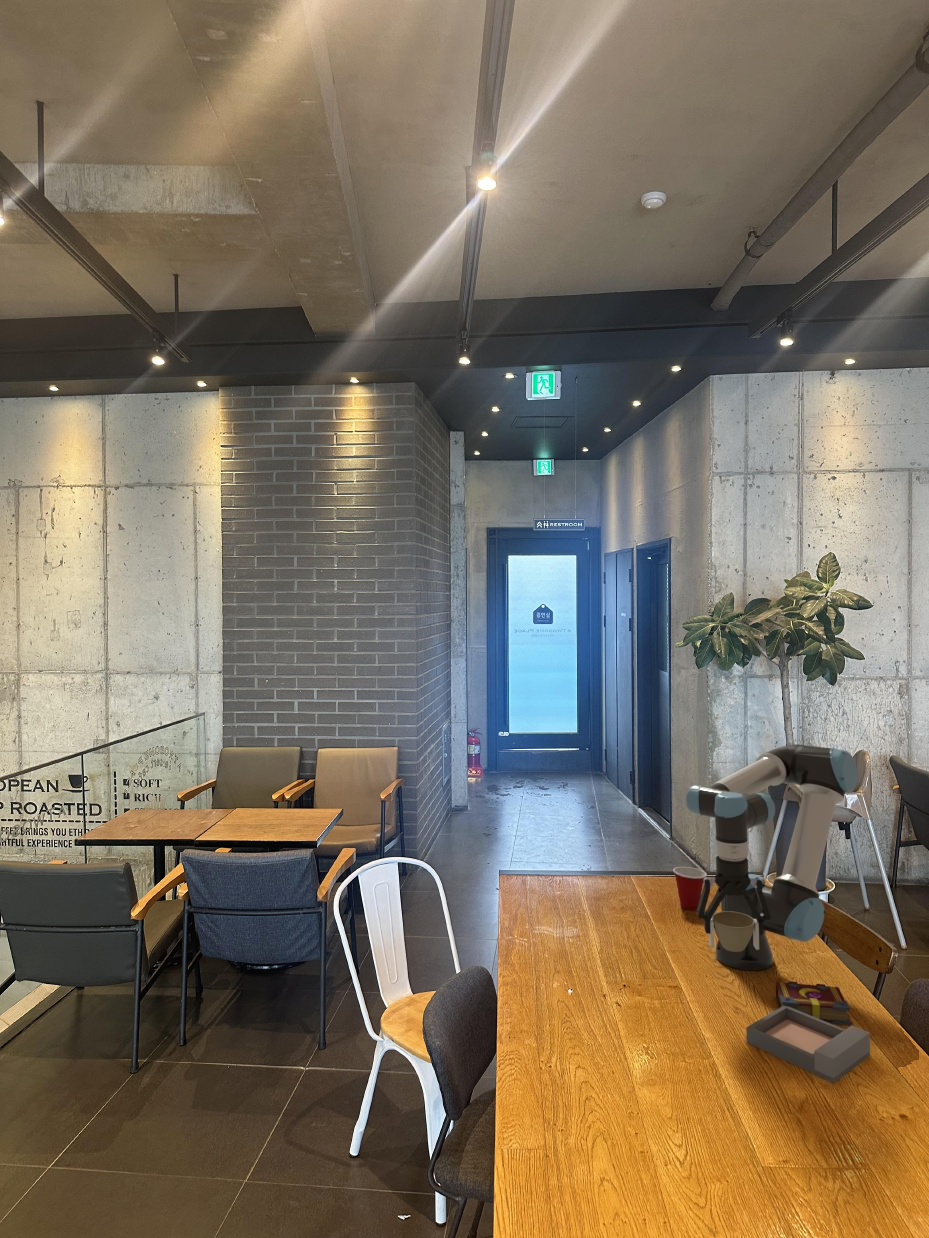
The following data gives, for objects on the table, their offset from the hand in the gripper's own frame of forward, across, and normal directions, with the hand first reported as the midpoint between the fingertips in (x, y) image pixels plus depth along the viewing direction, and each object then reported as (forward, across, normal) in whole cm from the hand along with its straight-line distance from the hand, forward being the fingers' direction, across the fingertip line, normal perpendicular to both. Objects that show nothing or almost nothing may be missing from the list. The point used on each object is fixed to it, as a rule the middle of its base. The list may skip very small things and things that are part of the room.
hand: (733, 946), depth 194 cm
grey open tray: (+15, +12, -18) cm, 26 cm away
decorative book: (+16, +18, 0) cm, 24 cm away
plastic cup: (+16, 0, +68) cm, 69 cm away
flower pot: (+1, 0, 0) cm, 1 cm away
